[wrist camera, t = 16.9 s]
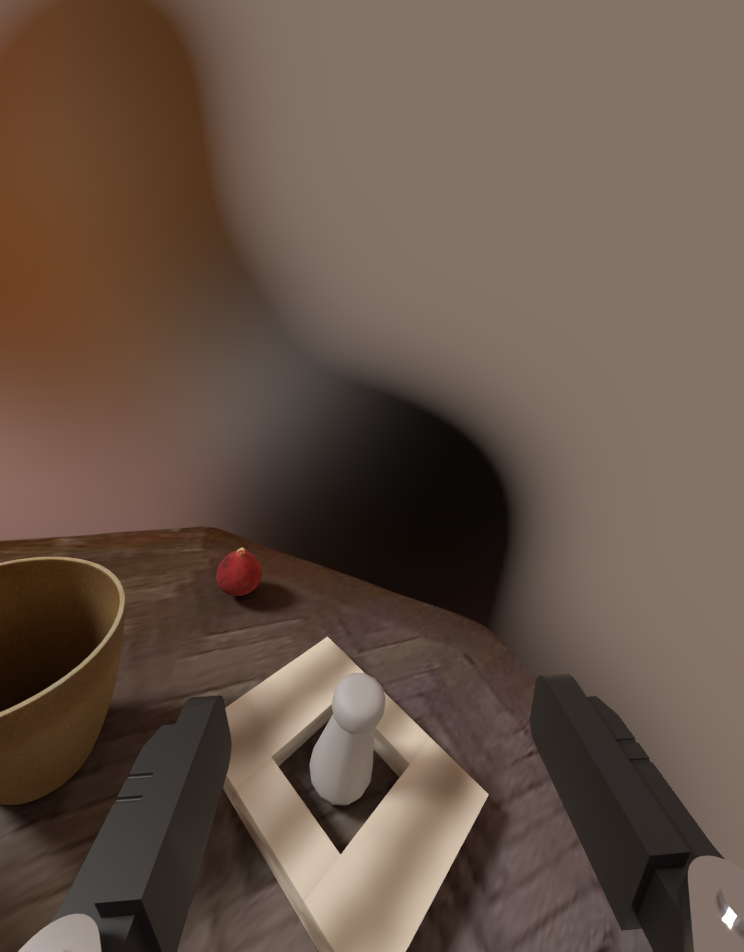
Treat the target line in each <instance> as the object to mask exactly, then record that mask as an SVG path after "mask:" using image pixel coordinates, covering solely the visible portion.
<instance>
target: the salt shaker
mask: <svg viewBox="0 0 744 952" xmlns="http://www.w3.org/2000/svg"><path fill="white" fill-rule="evenodd" d="M385 700H386V697H385V694H384V691H383V688H382V686H381V685H380V684H379V683H378V682H377V680H376V679H375V678H373V677H371V676H369V675H367V674H365V673H352V674H350V675H347V676H345V677H344V678H343V679H342V680H341V681H340V682H339V683H338V684H337V686H336V688H335V691H334V695H333V699H332V709H333V715H332V717H331V718H330V720H329V722H328V724H327V725H326V727H325V729H324V731H323V732H322V734H321V736H320V738H319V740H318V741H317V743H316V745H315V747H314V749H313V752H312V756H311V760H310V774H311V782H312V785H313V786H314V788H315V790H316V791H317V793H318V794H319V796H320V797H321V798H323V799H324V800H326V801H327V802H328V803H329V804H330V805H331V806H334V805H349V804H350V803H352V802H354V801H356V800H357V799H359V798H361V796H362V795H363V793H364V792H365V790H366V788H367V787H368V785H369V783H370V782H371V775H372V769H373V750H374V729H375V728H376V727H377V725H378V724H379V722H380V721H381V719H382V717H383V715H384V709H385Z"/></svg>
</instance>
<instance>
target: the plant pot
mask: <svg viewBox="0 0 744 952" xmlns="http://www.w3.org/2000/svg"><path fill="white" fill-rule="evenodd" d="M124 617H125V593H124V589H123V587H122V585H121V583H120V581H119V580H118V578H117V577H116V576H115V575H114V574H113V573H112V572H111V571H109V570H108V569H106V568H105V567H103V566H101V565H98V564H96V563H93V562H90V561H86V560H82V559H76V558H67V557H37V558H28V559H19V560H14V561H8V562H3V563H0V804H3V805H19V804H24V803H28V802H31V801H34V800H37V799H39V798H41V797H43V796H45V795H47V794H49V793H51V792H52V791H54V790H56V789H57V788H59V787H60V786H62V785H63V784H64V783H66V782H67V781H68V780H69V779H70V778H71V777H72V776H73V775H74V774H75V773H76V772H77V771H78V770H79V769H80V768H81V767H82V765H83V764H84V762H85V761H86V759H87V758H88V756H89V755H90V753H91V751H92V749H93V747H94V744H95V742H96V740H97V737H98V735H99V733H100V730H101V728H102V725H103V723H104V720H105V717H106V714H107V711H108V708H109V705H110V701H111V698H112V694H113V690H114V686H115V682H116V677H117V672H118V668H119V662H120V656H121V649H122V641H123V631H124Z"/></svg>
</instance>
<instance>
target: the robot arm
mask: <svg viewBox="0 0 744 952" xmlns="http://www.w3.org/2000/svg"><path fill="white" fill-rule="evenodd" d="M530 726H531V731H532V736H533V739H534V742H535V745H536V747H537V749H538V751H539V754H540V756H541V758H542V760H543V762H544V764H545V767H546V769H547V771H548V773H549V775H550V777H551V779H552V782H553V784H554V786H555V788H556V790H557V792H558V794H559V797H560V799H561V801H562V803H563V805H564V807H565V809H566V812H567V814H568V816H569V818H570V820H571V822H572V825H573V827H574V829H575V831H576V833H577V835H578V837H579V840H580V842H581V844H582V846H583V848H584V850H585V852H586V855H587V857H588V859H589V861H590V863H591V865H592V868H593V870H594V872H595V874H596V876H597V878H598V880H599V883H600V885H601V887H602V889H603V891H604V893H605V895H606V898H607V900H608V902H609V904H610V906H611V908H612V910H613V913H614V915H615V917H616V919H617V921H618V923H619V926H620V928H621V930H632V929H643V931H644V933H645V935H646V937H647V939H648V941H649V943H650V945H651V947H652V949H653V951H652V952H744V870H743V869H742V868H740V867H738V866H737V865H735V864H733V863H731V862H729V861H727V860H725V859H724V858H723V857H722V856H721V854H720V853H719V852H718V851H717V850H716V849H715V847H714V846H713V845H712V844H711V842H710V841H709V840H708V838H707V837H706V836H705V834H704V833H703V831H702V830H701V829H700V827H699V826H698V824H697V823H696V822H695V820H694V819H693V818H692V816H691V815H690V813H689V812H688V811H687V809H686V808H685V807H684V805H683V804H682V802H681V801H680V800H679V798H678V797H677V796H676V794H675V793H674V791H673V790H672V789H671V787H670V786H669V785H668V783H667V782H666V780H665V779H664V778H663V776H662V775H661V773H660V772H659V771H658V769H657V768H656V767H655V765H654V764H653V763H651V762H650V760H649V757H648V756H647V754H646V753H645V751H644V750H643V749H642V747H641V746H640V744H639V743H636V741H635V738H634V736H633V735H632V733H631V732H630V731H629V730H628V728H627V727H626V725H625V724H624V722H623V721H622V720H621V718H620V717H619V716H618V715H617V714H616V713H615V712H614V711H613V710H612V709H610V708H609V707H608V706H607V705H606V704H605V703H603V702H602V701H601V700H600V699H599V698H597V697H596V696H593V697H586V695H585V694H584V692H583V691H582V689H581V688H580V686H579V685H578V683H577V682H576V681H575V679H574V678H573V677H572V676H571V675H569V674H558V675H543V676H538V677H537V680H536V685H535V691H534V697H533V703H532V709H531V715H530ZM231 748H232V741H231V734H230V729H229V724H228V719H227V714H226V710H225V705H224V700H223V698H222V696H208V697H193V698H189V699H188V700H187V701H186V703H185V704H184V706H183V708H182V711H181V713H180V715H179V717H178V719H177V722H176V724H171V725H162V726H161V727H160V728H159V730H158V731H157V732H156V733H155V734H154V735H153V736H152V737H151V739H150V740H149V741H148V742H147V743H146V744H145V745H144V746H143V748H142V749H141V751H140V753H139V755H138V757H137V759H136V761H135V763H134V765H133V767H132V769H131V771H130V773H129V777H128V779H127V780H126V781H125V783H124V784H123V786H122V788H121V790H120V792H119V794H118V796H117V801H116V803H114V804H113V806H112V808H111V810H110V812H109V814H108V816H107V818H106V820H105V822H104V824H103V826H102V828H101V830H100V832H99V834H98V835H97V837H96V839H95V841H94V843H93V845H92V847H91V849H90V851H89V853H88V855H87V857H86V859H85V861H84V863H83V865H82V867H81V869H80V871H79V873H78V875H77V877H76V879H75V881H74V883H73V884H72V886H71V888H70V890H69V892H68V894H67V896H66V898H65V900H64V902H63V903H62V905H61V907H60V909H59V910H58V912H57V913H56V915H55V916H54V918H53V919H52V920H51V922H50V923H49V924H48V925H47V926H46V927H44V928H43V929H42V930H40V931H39V932H38V933H37V934H35V935H34V936H33V937H32V938H31V939H30V940H29V941H28V942H27V943H26V944H25V945H24V946H23V947H22V948H21V949H20V950H19V951H18V952H177V949H178V945H179V942H180V938H181V934H182V931H183V927H184V924H185V920H186V917H187V913H188V910H189V906H190V903H191V899H192V896H193V892H194V888H195V885H196V881H197V878H198V874H199V871H200V867H201V864H202V860H203V857H204V853H205V850H206V846H207V842H208V839H209V835H210V832H211V828H212V825H213V821H214V818H215V814H216V811H217V807H218V803H219V800H220V796H221V793H222V789H223V786H224V782H225V779H226V775H227V772H228V768H229V764H230V758H231Z"/></svg>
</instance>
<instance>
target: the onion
mask: <svg viewBox="0 0 744 952" xmlns="http://www.w3.org/2000/svg"><path fill="white" fill-rule="evenodd" d="M261 576H262V572H261V565H260V563H259V561H258V560H257V558H256V557H255V556H254V555H252V554H251V553H249V552H247V551H246V550H245V548H240V549H239V550H237V551H234V552H232V553H230V554H228V555H227V556H226V557H225V558H224V559H223V560H222V562H221V563H220V564H219V566H218V570H217V577H216V579H217V583H218V585H219V587H220V588H221V590H222V591H223V592H225V593H227V594H229V595H233V596H242V595H245V594H248V593H250V592H251V591H253V590H254V589H255V588H256V587H257V586H258V584H259V582H260V580H261Z"/></svg>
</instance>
